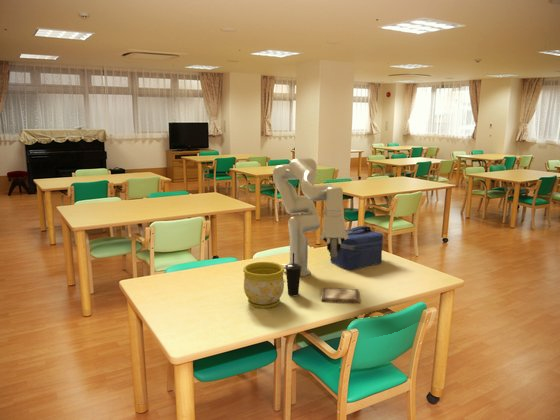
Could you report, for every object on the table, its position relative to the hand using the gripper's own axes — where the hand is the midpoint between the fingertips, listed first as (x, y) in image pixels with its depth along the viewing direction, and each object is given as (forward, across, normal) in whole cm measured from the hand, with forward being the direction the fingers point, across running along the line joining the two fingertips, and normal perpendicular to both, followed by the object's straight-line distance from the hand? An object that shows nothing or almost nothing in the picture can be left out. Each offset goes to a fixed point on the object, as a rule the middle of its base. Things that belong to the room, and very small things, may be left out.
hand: (333, 251), depth 207 cm
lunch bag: (+19, +14, +46) cm, 52 cm away
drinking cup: (+20, -19, -5) cm, 28 cm away
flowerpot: (+20, -31, -17) cm, 41 cm away
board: (+20, +3, -6) cm, 21 cm away
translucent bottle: (+3, 0, 0) cm, 3 cm away
